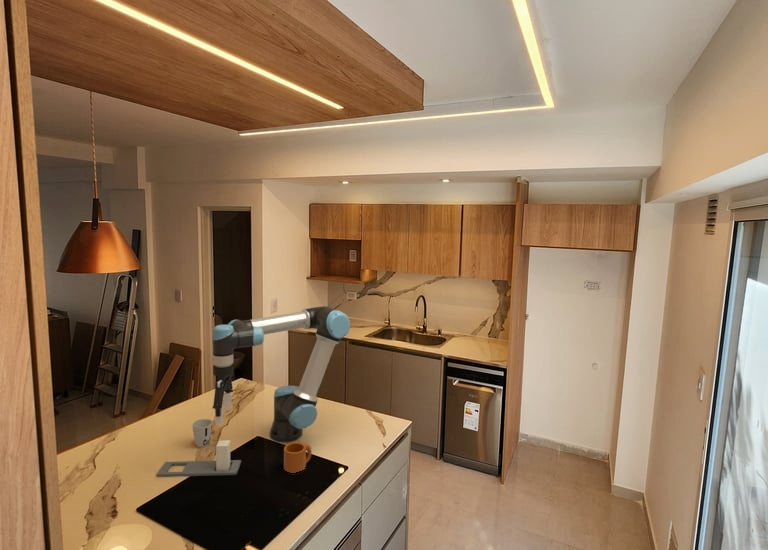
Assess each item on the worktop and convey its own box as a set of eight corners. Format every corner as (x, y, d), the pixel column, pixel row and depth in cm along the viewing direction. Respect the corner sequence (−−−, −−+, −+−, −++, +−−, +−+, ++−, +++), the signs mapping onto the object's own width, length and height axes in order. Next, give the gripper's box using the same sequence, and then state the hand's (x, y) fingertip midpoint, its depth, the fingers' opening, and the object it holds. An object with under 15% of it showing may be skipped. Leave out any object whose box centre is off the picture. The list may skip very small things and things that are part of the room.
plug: (230, 465, 176) (230, 440, 175) (227, 471, 172) (227, 445, 171) (217, 465, 176) (217, 440, 174) (214, 472, 171) (214, 446, 170)
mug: (316, 469, 177) (316, 448, 175) (287, 476, 171) (287, 455, 169) (308, 458, 184) (309, 438, 183) (281, 465, 178) (281, 444, 177)
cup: (205, 450, 187) (205, 428, 186) (188, 447, 189) (188, 426, 188) (215, 441, 195) (215, 420, 194) (200, 438, 197) (199, 417, 196)
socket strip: (241, 462, 179) (241, 460, 179) (236, 474, 170) (236, 472, 170) (165, 464, 176) (165, 461, 175) (156, 476, 167) (156, 474, 167)
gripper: (221, 354, 181) (221, 402, 183) (203, 375, 156) (204, 430, 159) (239, 354, 182) (239, 402, 184) (225, 375, 157) (225, 430, 159)
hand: (223, 415), depth 171 cm, fingers open, 13 cm apart
